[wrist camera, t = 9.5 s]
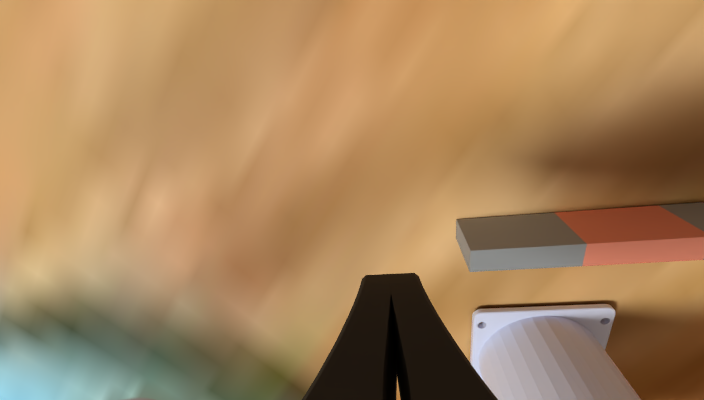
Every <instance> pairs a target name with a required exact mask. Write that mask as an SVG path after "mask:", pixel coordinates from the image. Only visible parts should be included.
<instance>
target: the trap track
mask: <svg viewBox="0 0 704 400" xmlns="http://www.w3.org/2000/svg"><path fill="white" fill-rule="evenodd" d="M456 239H457V242H458V244H459V246H460V249H461V251H462V254H463V256H464V259H465V261H466V264H467V266H468V269H469V271H470V272H478V271H497V270H516V269H535V268H555V267H574V266H593V265H612V264H632V263H651V262H670V261H689V260H704V202H700V203H685V204H671V205H656V206H642V207H627V208H613V209H599V210H584V211H570V212H555V213H541V214H526V215H512V216H498V217H483V218H469V219H456Z"/></svg>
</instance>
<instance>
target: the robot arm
mask: <svg viewBox="0 0 704 400" xmlns="http://www.w3.org/2000/svg"><path fill="white" fill-rule="evenodd" d="M615 314H616V311H615V310H614V309H613V307H612V306H611V305H609V304H589V305H564V306H539V307H514V308H489V309H478V310H476V311H474V313H473V315H472V333H471V355H470V362H469V361H468V359H467V358H466V357H465V355H464V354H463V352H462V351H461V349H460V348H459V347H458V345H457V344H456V342H455V341H454V339H453V337H452V336H451V334H450V333H449V331H448V330H447V328H446V327H445V325H444V324H443V322H442V320H441V319H440V317H439V316H438V314H437V312H436V310H435V309H434V307H433V305H432V303H431V302H430V300H429V298H428V296H427V294H426V292H425V290H424V288H423V286H422V284H421V281H420V279H419V276H417V275H416V274H415V273H405V274H382V275H366V276H365V277H364V278H363V279H362V281H361V285H360V288H359V291H358V294H357V297H356V299H355V302H354V304H353V306H352V309H351V311H350V313H349V316H348V318H347V320H346V322H345V324H344V326H343V328H342V330H341V332H340V334H339V336H338V339H337V341H336V342H335V344H334V346H333V348H332V350H331V352H330V353H329V355H328V357H327V359H326V361H325V362H324V364H323V366H322V368H321V369H320V371H319V373H318V375H317V377H316V378H315V380H314V382H313V383H312V385H311V386H310V388H309V390H308V391H307V393H306V394H305V396H304V398H303V399H302V400H396V388H397V378H398V384H399V391H400V397H401V400H641V398H640V397H639V396H638V394H637V393H636V392H635V390H634V389H633V388H632V386H631V385H630V384H629V382H628V381H627V380H626V378H625V377H624V375H623V374H622V373H621V371H620V370H619V369H618V367H617V366H616V365H615V363H614V362H613V361H612V359H611V358H610V357H609V355H608V354H607V353H606V351H605V349H606V345H607V342H608V338H609V335H610V331H611V328H612V325H613V321H614V318H615ZM481 322H483V323H481ZM479 323H481V324H479Z"/></svg>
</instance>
